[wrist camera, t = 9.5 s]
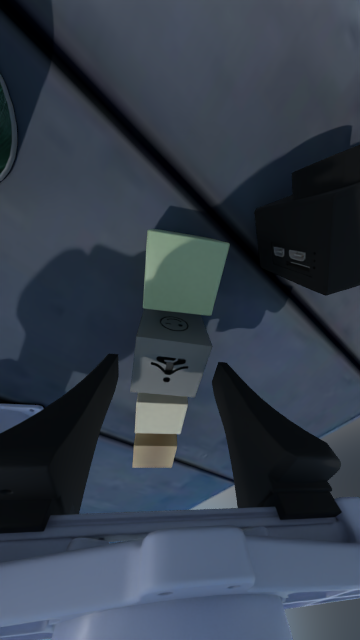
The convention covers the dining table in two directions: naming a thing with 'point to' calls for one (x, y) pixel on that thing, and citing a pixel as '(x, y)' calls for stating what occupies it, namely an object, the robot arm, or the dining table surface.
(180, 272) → the sage block
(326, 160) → the digital camera
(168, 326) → the dice cube
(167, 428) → the cream block
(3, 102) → the canned tomato
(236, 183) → the dining table surface
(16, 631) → the robot arm
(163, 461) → the maple block
